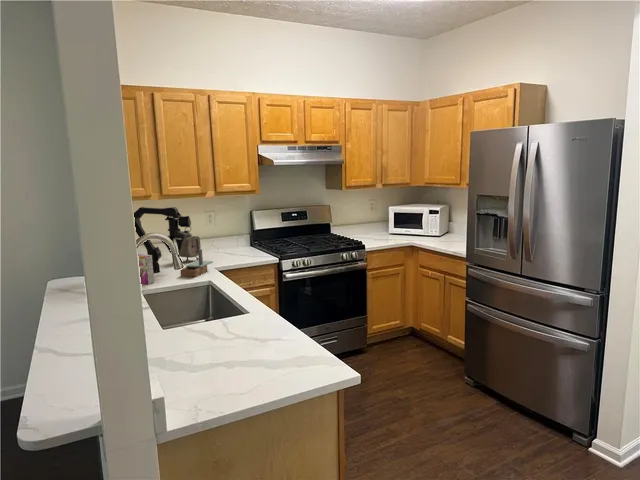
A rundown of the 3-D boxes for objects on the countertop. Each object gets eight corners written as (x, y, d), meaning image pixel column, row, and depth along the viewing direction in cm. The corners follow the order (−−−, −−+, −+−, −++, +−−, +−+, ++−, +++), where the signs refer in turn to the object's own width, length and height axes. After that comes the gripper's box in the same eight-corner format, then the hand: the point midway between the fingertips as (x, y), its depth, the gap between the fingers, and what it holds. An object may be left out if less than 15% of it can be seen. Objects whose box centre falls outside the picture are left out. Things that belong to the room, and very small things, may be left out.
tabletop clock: (188, 263, 299) (185, 227, 295) (177, 263, 302) (175, 227, 298) (201, 259, 312) (199, 225, 308) (191, 258, 315) (188, 224, 311)
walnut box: (195, 277, 260) (194, 270, 259) (180, 276, 263) (180, 269, 262) (207, 272, 273) (207, 265, 272) (193, 271, 276) (192, 264, 275)
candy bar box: (133, 283, 250) (131, 255, 247) (140, 281, 254) (138, 253, 252) (148, 284, 245) (145, 256, 243) (154, 282, 250) (152, 254, 247)
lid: (201, 267, 265) (200, 250, 264) (186, 266, 268) (185, 250, 267) (212, 262, 279) (212, 246, 277) (198, 261, 282) (197, 246, 280)
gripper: (176, 229, 261) (178, 254, 263) (193, 225, 278) (194, 249, 281) (160, 229, 263) (162, 254, 266) (178, 225, 281) (179, 248, 284)
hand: (175, 251), depth 274 cm, fingers open, 9 cm apart
